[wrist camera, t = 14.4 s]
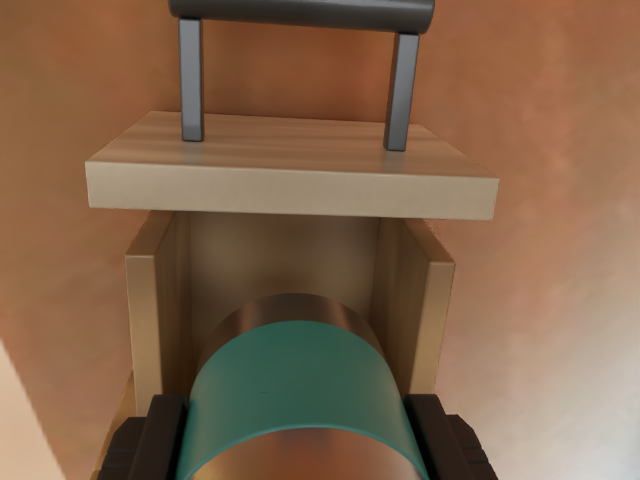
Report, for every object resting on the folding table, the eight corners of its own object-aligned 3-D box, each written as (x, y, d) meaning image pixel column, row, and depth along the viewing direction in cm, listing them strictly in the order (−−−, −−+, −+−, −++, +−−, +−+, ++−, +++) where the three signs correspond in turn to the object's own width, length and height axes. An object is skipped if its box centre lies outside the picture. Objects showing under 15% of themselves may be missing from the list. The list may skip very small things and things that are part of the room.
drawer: (142, -30, 18) (61, -63, 11) (439, -7, 19) (541, -24, 12) (165, 404, 25) (123, 559, 18) (384, 403, 26) (428, 548, 19)
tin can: (194, 287, 14) (136, 498, 8) (395, 291, 14) (490, 489, 8) (198, 449, 16) (154, 718, 10) (375, 446, 16) (439, 699, 10)
